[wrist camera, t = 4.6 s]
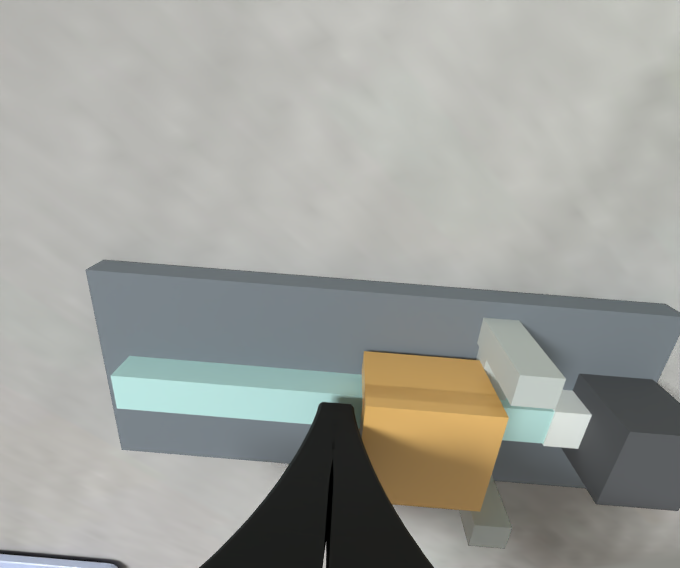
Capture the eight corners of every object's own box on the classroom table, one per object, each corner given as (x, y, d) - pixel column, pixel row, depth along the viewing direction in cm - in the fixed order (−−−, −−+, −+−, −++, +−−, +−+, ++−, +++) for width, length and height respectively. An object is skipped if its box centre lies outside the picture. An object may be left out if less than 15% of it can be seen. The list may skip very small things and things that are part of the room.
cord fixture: (592, 470, 17) (662, 574, 13) (134, 431, 17) (69, 523, 13) (665, 304, 14) (786, 376, 10) (103, 259, 14) (6, 314, 10)
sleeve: (458, 443, 15) (480, 511, 12) (354, 435, 15) (354, 501, 12) (479, 360, 13) (509, 418, 11) (363, 351, 13) (365, 405, 11)
